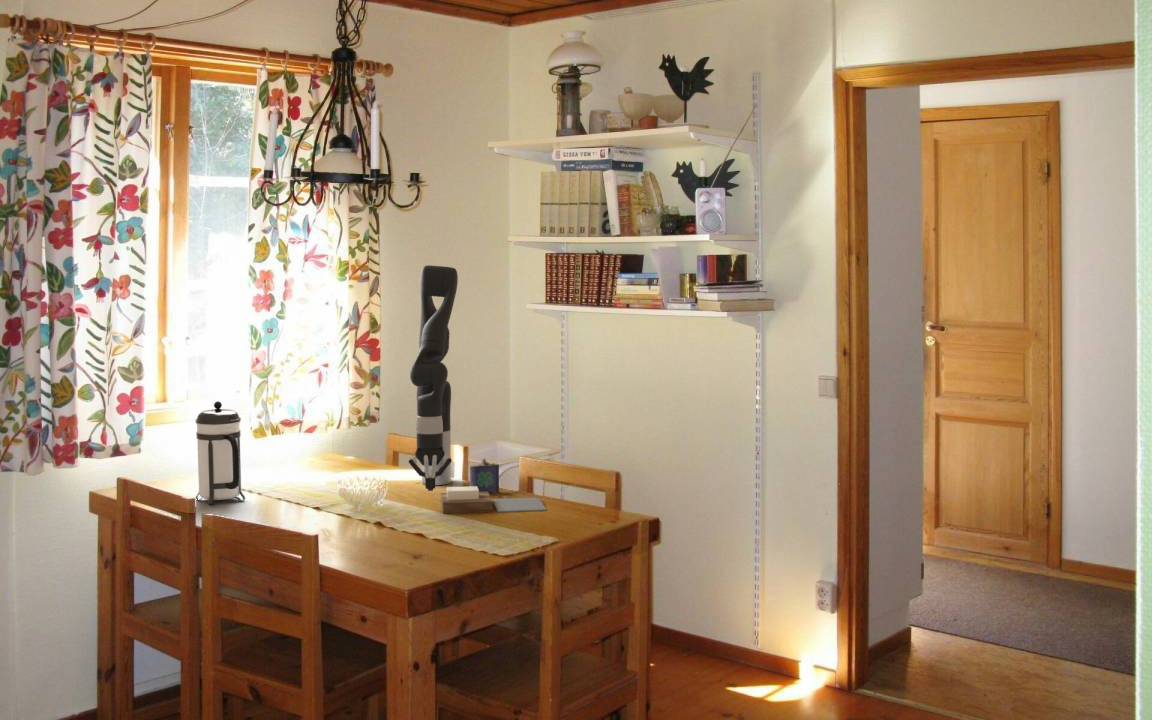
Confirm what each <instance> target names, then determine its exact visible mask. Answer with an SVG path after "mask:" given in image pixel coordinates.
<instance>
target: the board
mask: <svg viewBox="0 0 1152 720" xmlns="http://www.w3.org/2000/svg"><path fill="white" fill-rule="evenodd" d="M440 504H441V510H442V514H466V513H471V514H472V513H493V499H492V498H491V494H489V493H488V491H487V492H479V499H462V500H448V499H447V492H440Z"/></svg>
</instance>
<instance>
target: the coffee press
mask: <svg viewBox="0 0 1152 720" xmlns="http://www.w3.org/2000/svg"><path fill="white" fill-rule="evenodd" d="M222 406H223V403H222V402H221V401H215V402H214V403H213V407H214V409H207V410H203V411H202V412H199V414H198V415H197V417H196V419H194V420H195V424H196V439H197V469H198V471H197V472H198V473H197V475H198V493H197V495H196V496H195V497H194V499H195V498H196V499H197V500H196V499H195V500H196V502H199V501H201V500H202V499H204V500H208V501H207V505H214V506H215V503H216V501H217V500H219V501H220V500H228V499H236V500H238V502H240V503H242V502H244V501H245V500H246V496H245V495H244V494H243V493H242V492H243V491H242V472H241V466H242V465H241V434H242V433H241V429H240V428H241V427H240V422H241V419H242V418H241V417H240V416H239V413H238V412H237V411H235V410H233V409H228V408H221V407H222ZM199 496H200V497H201V498H200V499H199V498H198V497H199ZM239 496H241V498H240V497H239ZM198 499H199V501H198Z"/></svg>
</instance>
